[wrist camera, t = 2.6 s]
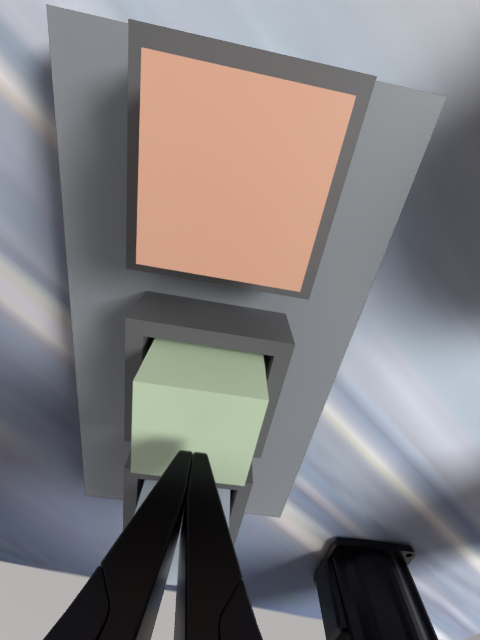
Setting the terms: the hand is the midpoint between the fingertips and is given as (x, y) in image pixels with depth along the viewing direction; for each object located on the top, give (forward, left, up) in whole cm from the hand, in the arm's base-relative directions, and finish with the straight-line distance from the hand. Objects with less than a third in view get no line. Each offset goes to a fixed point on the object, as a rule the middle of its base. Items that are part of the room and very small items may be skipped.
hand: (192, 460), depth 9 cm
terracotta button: (0, -8, -4) cm, 8 cm away
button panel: (0, 0, -7) cm, 7 cm away
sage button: (0, 0, -4) cm, 4 cm away
